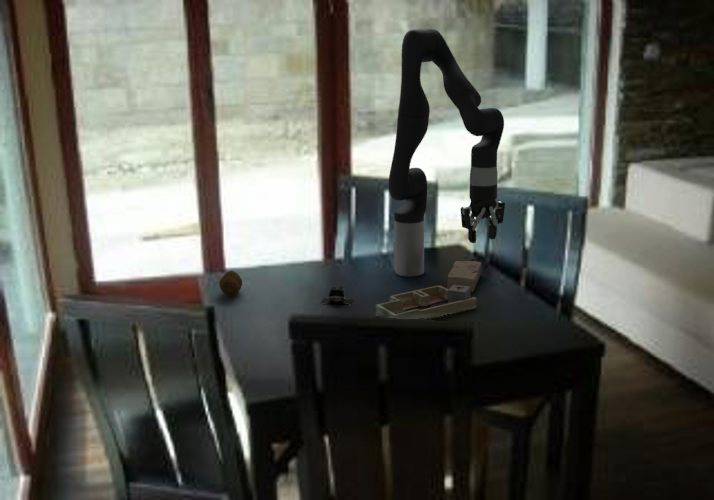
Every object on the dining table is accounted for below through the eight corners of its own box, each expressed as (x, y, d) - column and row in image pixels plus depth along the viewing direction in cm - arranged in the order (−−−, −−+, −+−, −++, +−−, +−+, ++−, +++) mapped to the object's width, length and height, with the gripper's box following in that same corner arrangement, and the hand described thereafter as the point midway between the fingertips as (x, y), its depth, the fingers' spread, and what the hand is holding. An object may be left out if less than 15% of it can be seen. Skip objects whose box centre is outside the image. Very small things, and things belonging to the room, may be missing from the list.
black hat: (360, 300, 240) (360, 285, 239) (357, 308, 233) (356, 293, 232) (318, 298, 242) (318, 284, 240) (313, 307, 235) (313, 292, 233)
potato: (219, 301, 239) (218, 279, 237) (220, 289, 250) (218, 267, 248) (243, 300, 240) (241, 277, 238) (242, 287, 251) (241, 265, 249)
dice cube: (470, 303, 234) (470, 286, 232) (464, 309, 229) (465, 292, 228) (453, 301, 236) (453, 284, 234) (447, 306, 231) (447, 290, 230)
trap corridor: (366, 311, 229) (366, 299, 228) (445, 293, 242) (445, 282, 241) (394, 327, 217) (394, 315, 216) (476, 308, 230) (476, 296, 229)
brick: (474, 292, 243) (474, 277, 241) (446, 291, 245) (446, 276, 243) (481, 275, 258) (482, 261, 257) (455, 273, 260) (455, 259, 259)
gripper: (495, 176, 233) (494, 233, 238) (454, 182, 226) (453, 241, 231) (512, 181, 227) (511, 239, 231) (470, 187, 220) (469, 247, 225)
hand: (482, 240), depth 231 cm, fingers open, 6 cm apart
